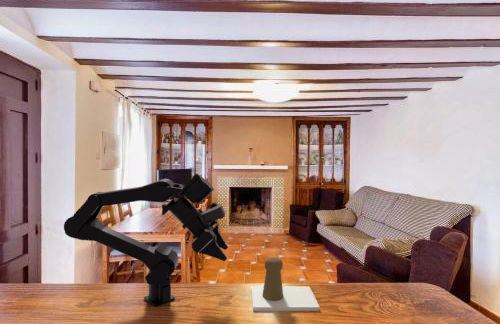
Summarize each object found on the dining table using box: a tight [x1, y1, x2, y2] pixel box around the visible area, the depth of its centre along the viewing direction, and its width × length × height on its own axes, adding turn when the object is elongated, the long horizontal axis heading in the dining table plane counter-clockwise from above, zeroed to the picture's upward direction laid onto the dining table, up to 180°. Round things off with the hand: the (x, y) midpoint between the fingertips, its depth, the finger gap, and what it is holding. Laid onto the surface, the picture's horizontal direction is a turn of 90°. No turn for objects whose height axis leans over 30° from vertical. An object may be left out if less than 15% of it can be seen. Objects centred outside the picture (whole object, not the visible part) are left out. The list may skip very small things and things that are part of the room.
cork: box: [263, 256, 284, 301], centre depth 96 cm, size 6×6×11 cm
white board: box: [250, 285, 321, 312], centre depth 96 cm, size 18×13×1 cm
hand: (226, 253), depth 95 cm, fingers open, 9 cm apart
